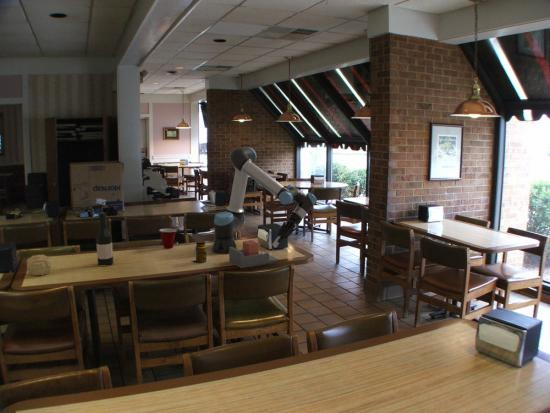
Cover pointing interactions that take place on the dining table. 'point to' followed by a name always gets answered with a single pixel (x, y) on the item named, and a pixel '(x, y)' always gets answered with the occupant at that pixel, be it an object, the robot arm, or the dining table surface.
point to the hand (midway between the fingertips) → (273, 246)
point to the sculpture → (38, 265)
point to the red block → (250, 248)
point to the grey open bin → (249, 258)
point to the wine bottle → (104, 243)
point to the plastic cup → (168, 237)
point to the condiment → (200, 253)
